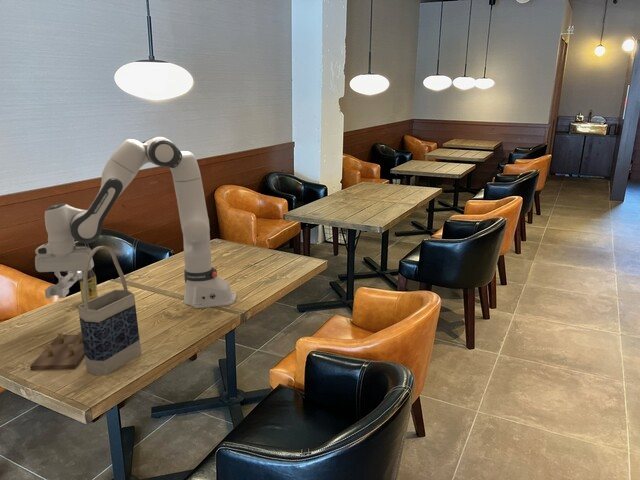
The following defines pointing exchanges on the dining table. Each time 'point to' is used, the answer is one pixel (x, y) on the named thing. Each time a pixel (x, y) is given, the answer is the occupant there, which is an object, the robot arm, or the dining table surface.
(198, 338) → the dining table surface
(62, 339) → the peg rack
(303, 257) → the dining table surface
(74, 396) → the dining table surface
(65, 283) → the ball-tipped notched rod
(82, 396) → the dining table surface
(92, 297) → the sauce bottle
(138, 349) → the bag
